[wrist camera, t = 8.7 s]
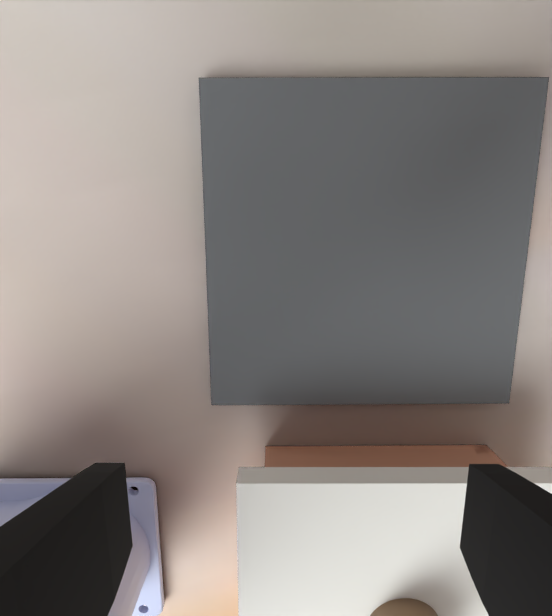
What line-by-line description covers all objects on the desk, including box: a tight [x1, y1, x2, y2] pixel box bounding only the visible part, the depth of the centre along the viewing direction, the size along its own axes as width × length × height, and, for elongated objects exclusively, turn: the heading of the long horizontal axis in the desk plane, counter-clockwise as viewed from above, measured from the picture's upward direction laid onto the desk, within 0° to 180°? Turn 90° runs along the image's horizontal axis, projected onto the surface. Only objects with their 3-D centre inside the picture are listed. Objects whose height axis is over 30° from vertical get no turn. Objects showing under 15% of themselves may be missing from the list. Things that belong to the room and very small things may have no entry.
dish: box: [265, 445, 508, 467], centre depth 18 cm, size 11×11×4 cm
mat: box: [199, 77, 549, 405], centre depth 17 cm, size 14×14×1 cm
